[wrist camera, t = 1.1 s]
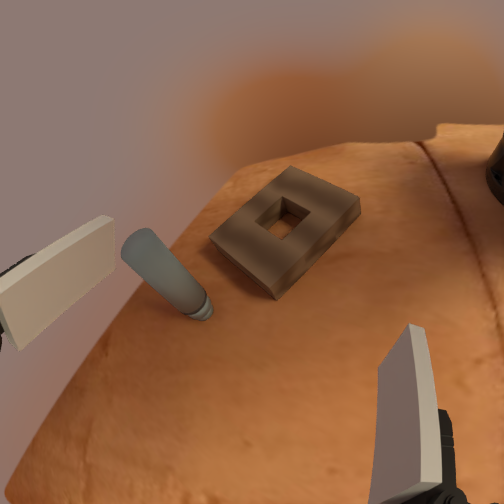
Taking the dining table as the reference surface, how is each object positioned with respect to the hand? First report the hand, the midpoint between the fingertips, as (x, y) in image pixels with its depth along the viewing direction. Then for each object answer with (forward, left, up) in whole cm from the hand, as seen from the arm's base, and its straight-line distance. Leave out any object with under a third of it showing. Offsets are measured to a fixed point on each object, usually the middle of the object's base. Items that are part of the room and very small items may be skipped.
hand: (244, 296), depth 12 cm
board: (-14, -20, -25) cm, 34 cm away
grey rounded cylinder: (+3, -20, -25) cm, 32 cm away
